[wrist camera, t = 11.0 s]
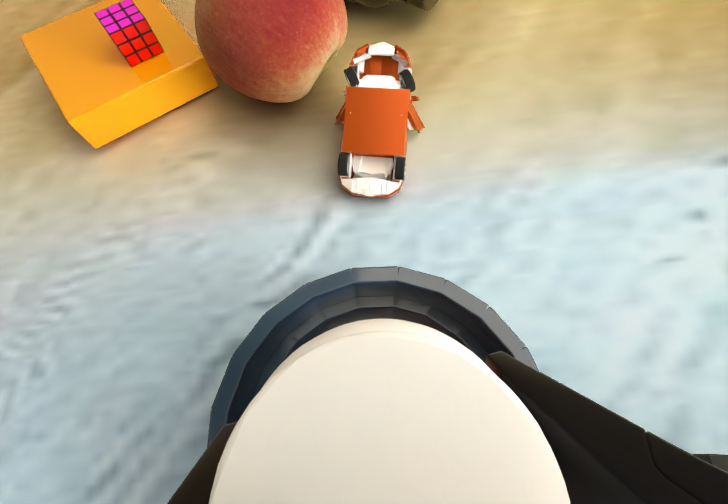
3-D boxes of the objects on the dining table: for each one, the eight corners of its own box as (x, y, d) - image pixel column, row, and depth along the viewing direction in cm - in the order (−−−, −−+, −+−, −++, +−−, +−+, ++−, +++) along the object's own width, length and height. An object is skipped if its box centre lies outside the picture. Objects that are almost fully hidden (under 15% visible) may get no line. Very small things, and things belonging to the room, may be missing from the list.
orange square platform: (95, 150, 21) (35, 93, 17) (47, 67, 24) (-15, 1, 20) (219, 86, 23) (190, 21, 19) (163, 15, 26) (126, -55, 22)
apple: (356, 19, 24) (241, -77, 21) (389, -28, 17) (219, -184, 14) (292, 128, 25) (176, 50, 23) (295, 130, 18) (124, 14, 15)
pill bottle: (451, 348, 16) (585, 269, 6) (469, 519, 14) (740, 900, 3) (307, 353, 16) (178, 284, 6) (302, 522, 14) (87, 898, 4)
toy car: (330, 37, 19) (339, 69, 22) (320, 192, 19) (331, 202, 22) (433, 38, 19) (427, 70, 22) (423, 197, 19) (419, 206, 22)
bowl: (526, 333, 18) (580, 314, 13) (483, 622, 14) (536, 740, 9) (303, 271, 19) (279, 234, 14) (213, 520, 16) (143, 578, 11)
